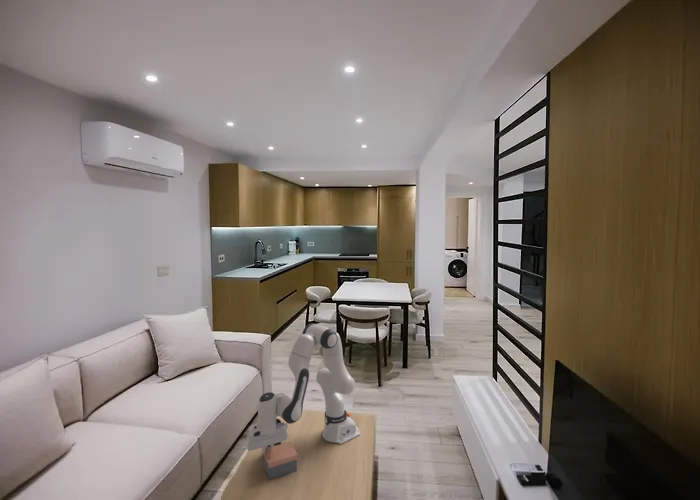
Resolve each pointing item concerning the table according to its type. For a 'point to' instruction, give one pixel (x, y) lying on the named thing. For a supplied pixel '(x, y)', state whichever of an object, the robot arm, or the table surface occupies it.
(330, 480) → the table surface
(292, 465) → the tub
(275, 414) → the robot arm
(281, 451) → the lid
